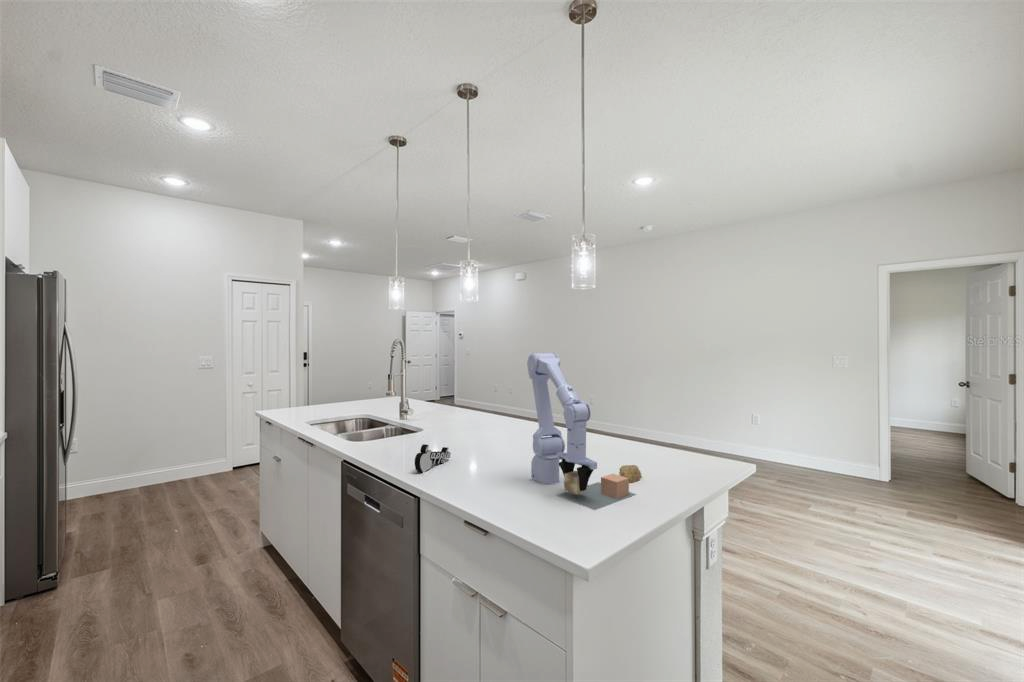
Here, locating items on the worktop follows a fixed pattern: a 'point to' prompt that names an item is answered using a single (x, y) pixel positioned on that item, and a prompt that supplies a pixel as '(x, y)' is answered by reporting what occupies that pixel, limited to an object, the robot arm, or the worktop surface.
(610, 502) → the slate mat
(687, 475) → the worktop surface
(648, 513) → the worktop surface
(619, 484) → the terracotta brick
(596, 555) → the worktop surface
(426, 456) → the logo
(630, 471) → the stone tool
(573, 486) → the maple block
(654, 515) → the worktop surface
